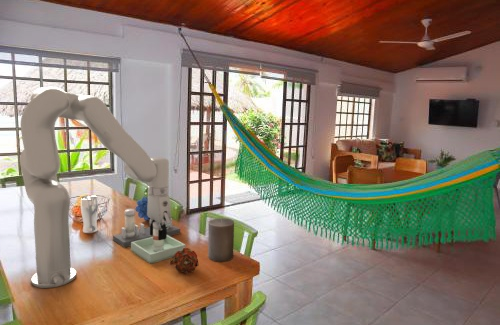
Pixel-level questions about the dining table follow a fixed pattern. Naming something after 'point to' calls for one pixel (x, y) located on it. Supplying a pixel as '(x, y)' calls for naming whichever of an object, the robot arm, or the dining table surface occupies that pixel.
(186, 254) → the dark red rosette
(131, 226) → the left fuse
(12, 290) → the dining table surface
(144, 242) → the tray
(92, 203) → the beer glass
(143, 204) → the grapes
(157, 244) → the cylinder
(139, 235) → the fuse holder
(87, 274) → the dining table surface
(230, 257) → the pillar candle
